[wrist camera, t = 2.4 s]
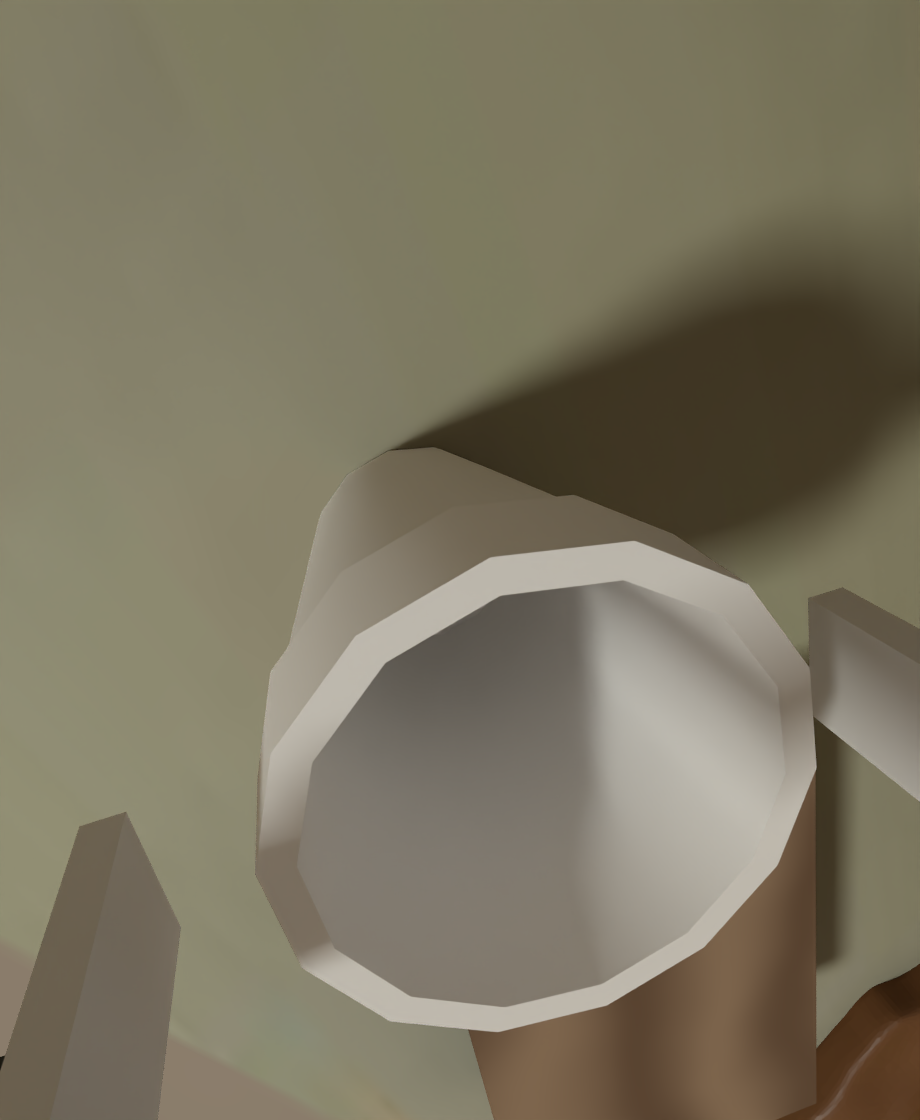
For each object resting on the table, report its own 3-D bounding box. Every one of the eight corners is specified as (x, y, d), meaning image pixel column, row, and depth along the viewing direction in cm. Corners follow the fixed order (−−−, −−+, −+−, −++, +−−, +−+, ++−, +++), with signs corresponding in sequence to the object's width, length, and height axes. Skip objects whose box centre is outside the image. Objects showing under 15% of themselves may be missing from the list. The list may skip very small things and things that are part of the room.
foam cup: (608, 547, 26) (897, 788, 14) (407, 724, 26) (518, 1099, 14) (427, 326, 22) (614, 403, 10) (195, 542, 22) (112, 853, 11)
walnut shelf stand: (730, 685, 29) (815, 764, 24) (747, 998, 36) (816, 1103, 32) (403, 789, 27) (429, 894, 23) (490, 1096, 34) (523, 1222, 30)
